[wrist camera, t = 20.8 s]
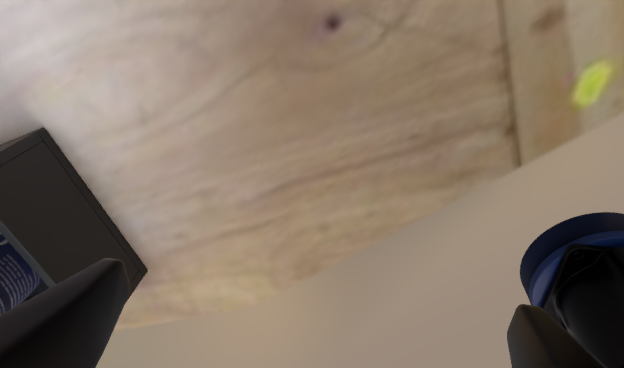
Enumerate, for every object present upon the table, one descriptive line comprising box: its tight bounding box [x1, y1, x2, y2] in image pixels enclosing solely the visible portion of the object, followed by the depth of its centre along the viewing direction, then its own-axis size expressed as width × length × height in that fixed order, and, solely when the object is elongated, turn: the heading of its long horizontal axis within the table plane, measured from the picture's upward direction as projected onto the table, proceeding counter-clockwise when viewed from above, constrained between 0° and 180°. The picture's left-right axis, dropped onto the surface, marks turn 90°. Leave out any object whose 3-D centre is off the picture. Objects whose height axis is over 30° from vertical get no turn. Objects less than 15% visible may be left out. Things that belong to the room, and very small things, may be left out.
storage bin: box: [0, 128, 147, 305], centre depth 25 cm, size 11×11×6 cm
